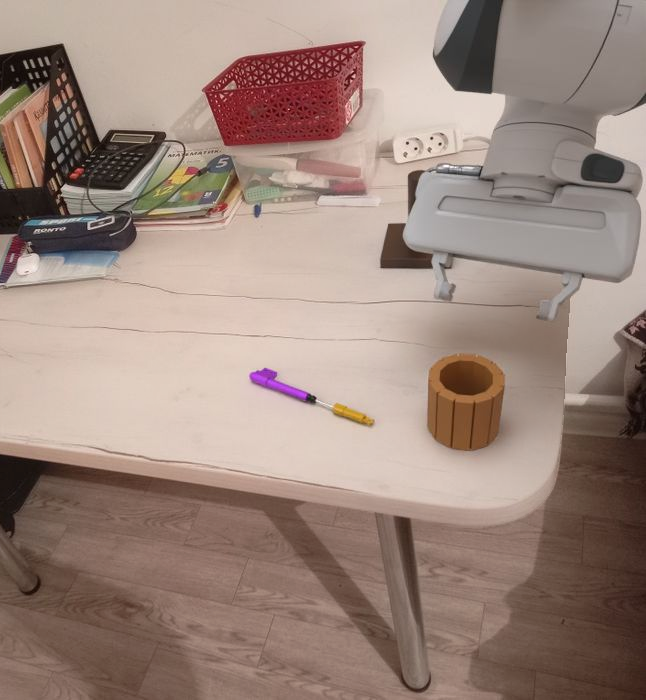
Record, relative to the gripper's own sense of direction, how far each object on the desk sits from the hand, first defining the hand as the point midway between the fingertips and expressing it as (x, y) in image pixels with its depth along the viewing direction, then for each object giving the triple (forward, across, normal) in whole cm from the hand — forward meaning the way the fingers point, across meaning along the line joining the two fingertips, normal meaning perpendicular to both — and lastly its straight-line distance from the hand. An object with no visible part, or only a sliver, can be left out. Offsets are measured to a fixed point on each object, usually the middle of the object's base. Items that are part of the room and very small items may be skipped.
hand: (491, 309), depth 61 cm
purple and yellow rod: (+14, -16, +1) cm, 21 cm away
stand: (-8, -15, +22) cm, 28 cm away
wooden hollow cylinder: (+12, 0, +2) cm, 12 cm away
